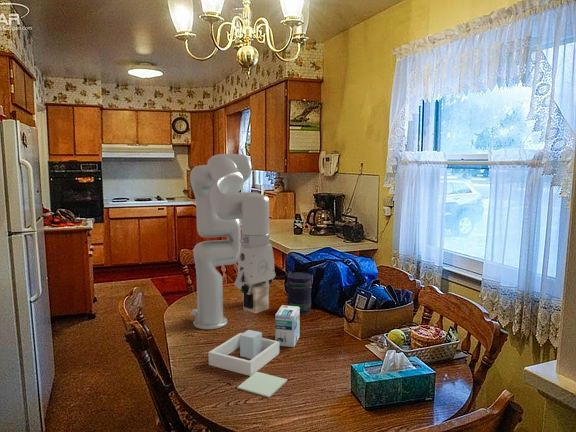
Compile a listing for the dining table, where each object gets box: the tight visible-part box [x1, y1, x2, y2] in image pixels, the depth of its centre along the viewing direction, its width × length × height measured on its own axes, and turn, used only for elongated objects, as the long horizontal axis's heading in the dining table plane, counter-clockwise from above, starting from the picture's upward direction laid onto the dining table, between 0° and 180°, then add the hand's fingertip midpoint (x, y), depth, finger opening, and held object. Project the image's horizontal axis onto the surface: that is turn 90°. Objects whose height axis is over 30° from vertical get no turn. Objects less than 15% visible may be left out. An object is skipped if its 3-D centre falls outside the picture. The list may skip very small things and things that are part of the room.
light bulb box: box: [274, 304, 301, 348], centre depth 151 cm, size 11×7×11 cm, turn 168°
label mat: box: [236, 371, 288, 398], centre depth 122 cm, size 10×10×1 cm
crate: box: [207, 332, 280, 377], centre depth 137 cm, size 15×17×4 cm
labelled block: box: [242, 282, 270, 314], centre depth 122 cm, size 5×5×7 cm
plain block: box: [239, 329, 263, 360], centre depth 140 cm, size 5×5×7 cm
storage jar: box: [286, 271, 312, 316], centre depth 181 cm, size 10×10×15 cm
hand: (256, 304), depth 122 cm, fingers closed on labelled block, 5 cm apart
